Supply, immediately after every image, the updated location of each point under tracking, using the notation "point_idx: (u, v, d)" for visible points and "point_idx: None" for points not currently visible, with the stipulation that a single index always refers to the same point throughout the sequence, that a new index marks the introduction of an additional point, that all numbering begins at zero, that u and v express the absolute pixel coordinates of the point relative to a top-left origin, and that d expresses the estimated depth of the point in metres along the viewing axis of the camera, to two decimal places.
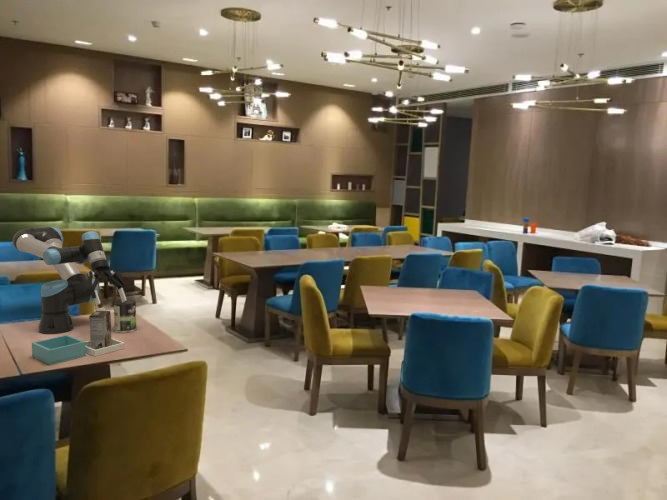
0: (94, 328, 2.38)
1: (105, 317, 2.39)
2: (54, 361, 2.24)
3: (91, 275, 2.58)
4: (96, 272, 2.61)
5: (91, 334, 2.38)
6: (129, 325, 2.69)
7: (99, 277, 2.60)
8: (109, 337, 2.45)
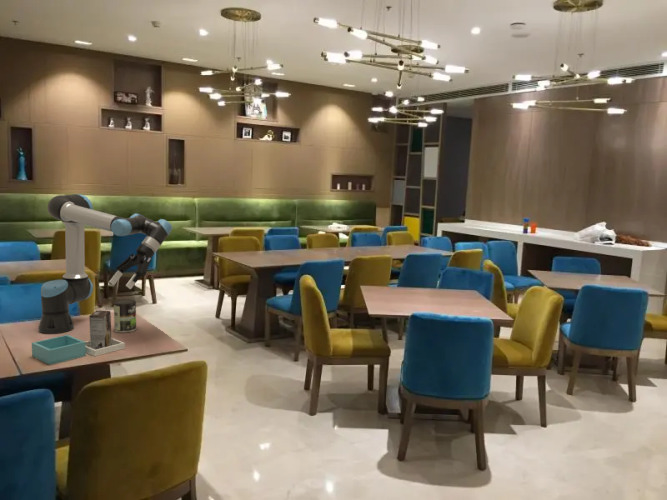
0: (94, 328, 2.38)
1: (105, 317, 2.39)
2: (54, 361, 2.24)
3: None
4: None
5: (91, 334, 2.38)
6: (129, 325, 2.69)
7: None
8: (109, 337, 2.45)
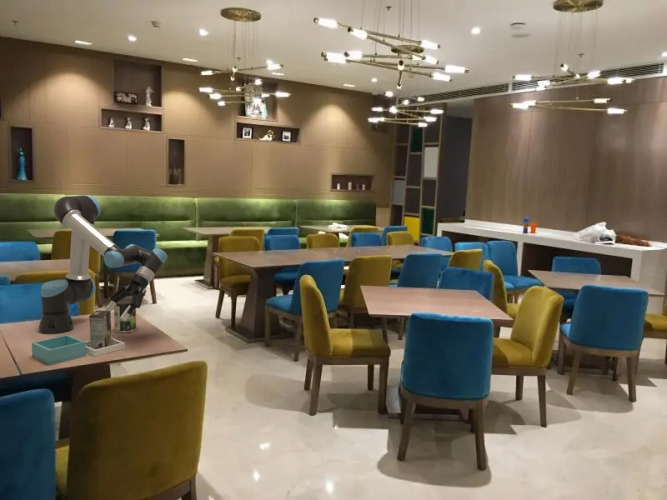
0: (94, 328, 2.38)
1: (105, 317, 2.39)
2: (54, 361, 2.24)
3: None
4: None
5: (91, 334, 2.38)
6: (129, 325, 2.69)
7: None
8: (109, 337, 2.45)
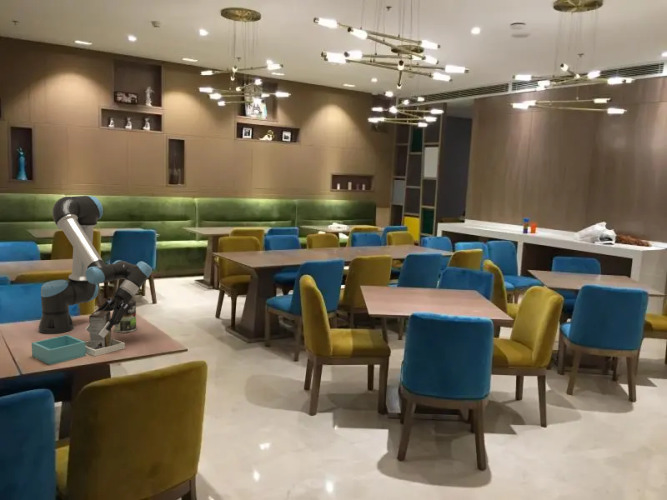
0: (94, 328, 2.38)
1: (105, 317, 2.39)
2: (54, 361, 2.24)
3: None
4: None
5: (91, 334, 2.38)
6: (129, 325, 2.69)
7: None
8: (109, 337, 2.45)
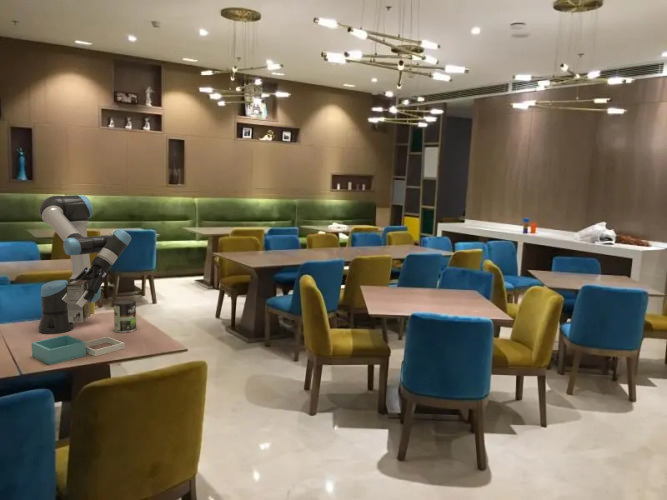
0: (71, 297, 2.29)
1: (83, 286, 2.31)
2: (54, 361, 2.24)
3: None
4: None
5: (68, 304, 2.30)
6: (129, 325, 2.69)
7: None
8: (87, 307, 2.37)
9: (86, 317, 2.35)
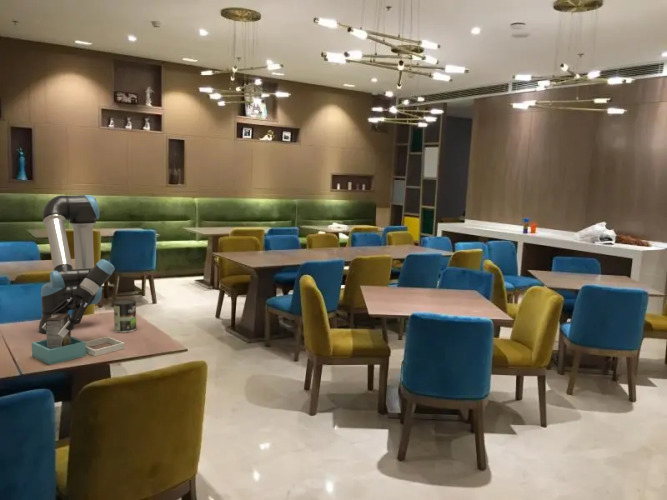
0: (51, 332, 2.27)
1: (62, 321, 2.29)
2: (54, 361, 2.24)
3: None
4: None
5: (48, 338, 2.28)
6: (129, 325, 2.69)
7: None
8: (68, 341, 2.34)
9: None
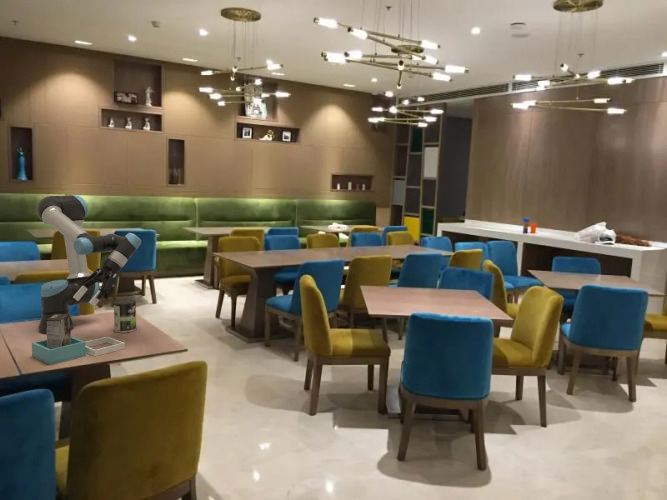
0: (51, 332, 2.27)
1: (63, 321, 2.29)
2: (54, 361, 2.24)
3: None
4: None
5: (48, 338, 2.28)
6: (129, 325, 2.69)
7: None
8: (68, 341, 2.34)
9: None
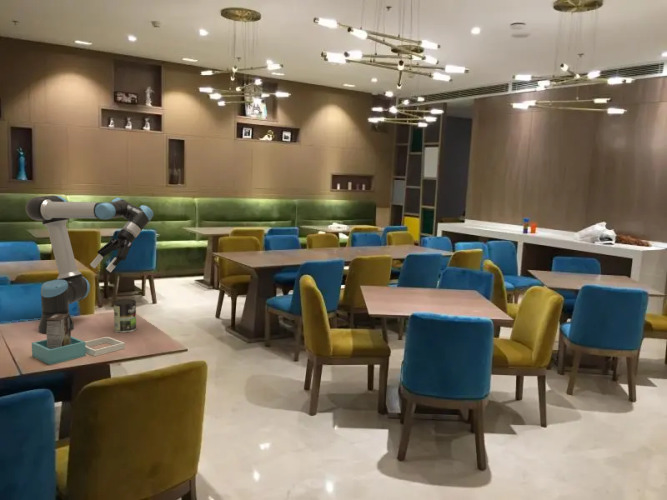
0: (51, 332, 2.27)
1: (63, 321, 2.29)
2: (54, 361, 2.24)
3: None
4: None
5: (48, 338, 2.28)
6: (129, 325, 2.69)
7: None
8: (68, 341, 2.34)
9: None
